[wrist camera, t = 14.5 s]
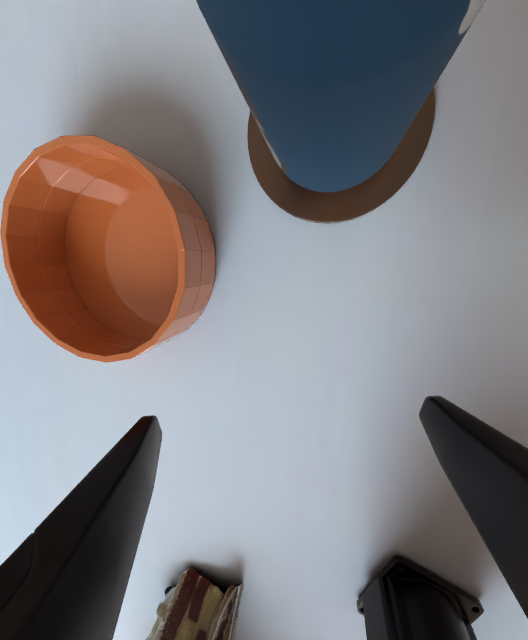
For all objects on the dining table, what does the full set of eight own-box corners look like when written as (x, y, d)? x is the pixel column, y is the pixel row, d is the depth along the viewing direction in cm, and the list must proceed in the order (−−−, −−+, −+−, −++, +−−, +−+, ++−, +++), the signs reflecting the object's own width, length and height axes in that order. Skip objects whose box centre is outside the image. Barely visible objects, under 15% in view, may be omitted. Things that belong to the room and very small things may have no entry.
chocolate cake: (177, 536, 25) (79, 717, 20) (236, 589, 22) (139, 822, 17) (214, 533, 33) (150, 664, 27) (263, 572, 29) (201, 730, 24)
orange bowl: (243, 205, 17) (217, 187, 13) (183, 370, 21) (149, 395, 17) (80, 135, 19) (12, 101, 15) (52, 301, 22) (-8, 309, 18)
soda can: (432, 103, 13) (1046, -818, 2) (342, 222, 16) (385, 110, 4) (323, 27, 14) (308, -1117, 2) (249, 154, 16) (52, -125, 4)
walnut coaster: (474, 55, 13) (478, 49, 13) (372, 249, 16) (374, 249, 15) (290, -2, 14) (289, -10, 14) (226, 188, 17) (224, 186, 17)
